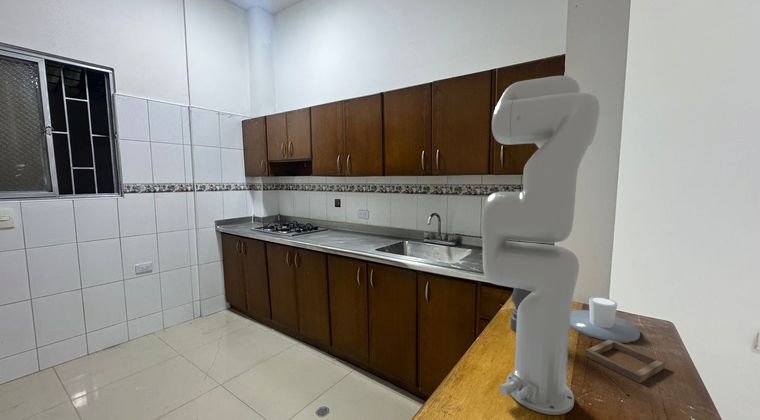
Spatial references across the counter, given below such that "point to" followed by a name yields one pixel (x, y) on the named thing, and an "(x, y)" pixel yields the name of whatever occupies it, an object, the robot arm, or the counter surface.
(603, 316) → the shot glass
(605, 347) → the pocket frame
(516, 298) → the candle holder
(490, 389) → the counter surface
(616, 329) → the plate
